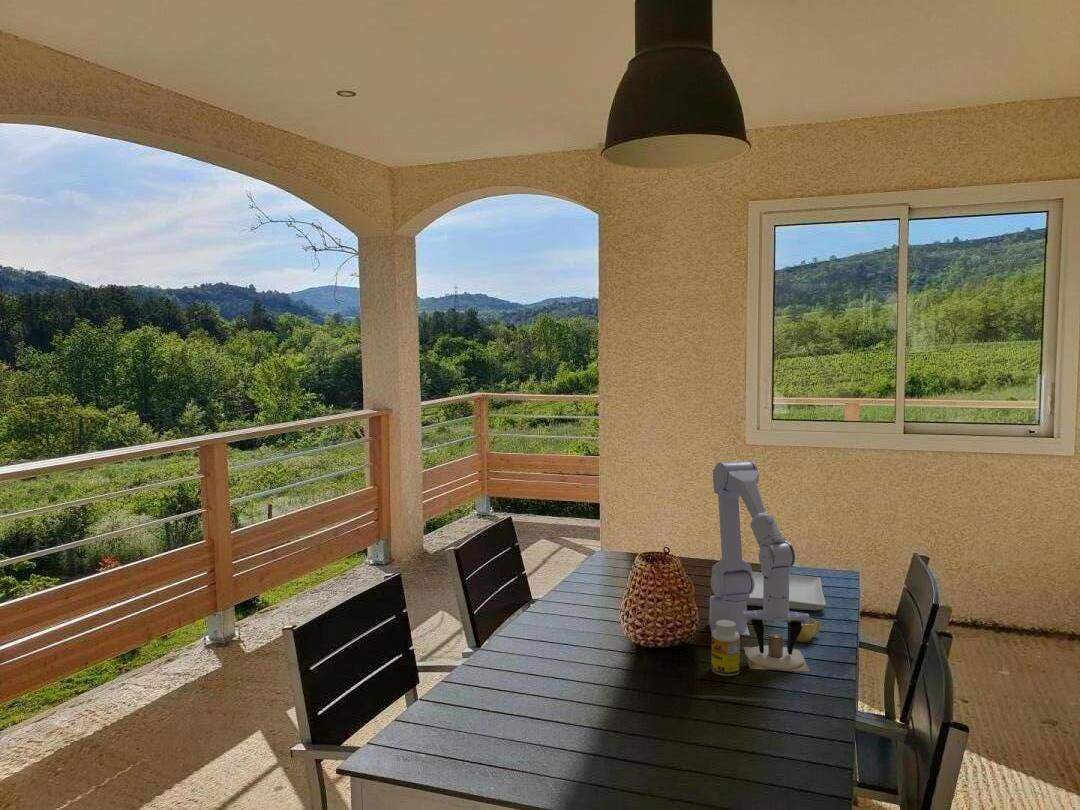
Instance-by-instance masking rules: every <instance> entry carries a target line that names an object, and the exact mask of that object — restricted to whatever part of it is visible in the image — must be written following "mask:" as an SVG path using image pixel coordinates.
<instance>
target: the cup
mask: <svg viewBox="0 0 1080 810" xmlns="http://www.w3.org/2000/svg"><path fill="white" fill-rule="evenodd" d="M801 626H802V630H801V632H800V633H799V635H798V637H797V639H796V641H799V642H810V641H811V640H812V638H813V637H814V635H815V634H817V633H819V632H820V630H821V622H819V621H817V620H815V619H814V618H812V617H809V624H804V623H801Z"/></svg>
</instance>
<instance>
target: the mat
mask: <svg viewBox="0 0 1080 810" xmlns="http://www.w3.org/2000/svg"><path fill="white" fill-rule="evenodd" d="M753 647H754V646H753ZM753 647H752V646H751V647H750V646H743V649H744V650H743V651H744V653H745V656H746V660H747V664H748V667H749V670H765V671H767V670H768V671H780V670H779V669H770V668H766V667H762V666H759V665H756V664H754V663H753V662H751V661H750V660H749V659H748V651H749V650H750V649H751V648H753ZM793 650H795V651H797V652H799V653H801V654H802V651H801V650H800V649H795V648H793ZM782 671H786V672H787V671H788V672H801V673H802V672H804V673H805V672H806V673H807V672H808V673H810V672H811V671H810V669H809V666H808V664H807V662H806V660H805V659H804V664H803V665H802V666H800V667H798V668H795V669H788V670H782Z"/></svg>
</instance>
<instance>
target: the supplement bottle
mask: <svg viewBox="0 0 1080 810" xmlns="http://www.w3.org/2000/svg"><path fill="white" fill-rule="evenodd" d="M715 628H716V630H714V631H713V632H712V633H711V671H712V673H715V674H716V675H719V676H720V675H721V676H725V677H726V676H735V675H738V674H739V673H740V669H741V668H740V665H741V659H740V657H741V655H740V654H741V653H740V652H741V648H740V647H741V635H739V633H738V632H736V624H735V622H733V621H729V620H719V621H717V622H716V627H715Z"/></svg>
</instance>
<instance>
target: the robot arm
mask: <svg viewBox="0 0 1080 810" xmlns="http://www.w3.org/2000/svg"><path fill="white" fill-rule="evenodd" d="M759 480H760V473H759V469H758V467H757V464H756V463H755V461H753V460H747V461H731V462H729V461H728V462H727V461H726V462H723V461H719V462H717V463H716V465H715V466H714V468H713V470H712V483H713V485H712V486H713V492H714V493H715V494H716V495H717V496H718V513H719V515H718V516H719V531H720V535H719V536H720V548H721V558H720V559H719V560H718V561H717V562H716V563H715V564H714V565H712V567H711V578H710V587H711V591H712V593H713V594H714V595H710V597H709V617H708V625H709V630H710V632H711V634H712V632H713V631H714V630H716V628H715V627H716V622H717V621H719V620H729V621H733V622H735V624H736V632H738V633H739V635H740V636H743V635H744V636H750V635H751V634H750V632H749V628H748V625H747V623H748V622H749V621H750V622H751V626H752V627H753V630H754V633H755V634H756V638H757V642H758V646H759V650H760V653H764V632H765V627H764V623H763V622H771V623H774V622H775V623H787V645H786V648H787V652H788V654H789V655H792V651H793V649H794V646H795V644H796V641H797V640H796V639H797V637H798V635H799V633H800V632H801V630H802V626H801V623H804V624H809V618H810V614H809V613H807V612H805V613H804V612H798V611H790V609H789V574H790V570H791V568H792V567H793V566H794V565H795V561H796V553H795V550H794V546H793V544H792V543H791V542H789V541H787V539H786V537H783V536H782V533H781V531H780V529H779V527H778V525H777V523H776V519H775V517H774V516H773V515H772V514H769V513H767V511H766V508H765V504H764V502H763V499H762V496H761V493H760V490H759V487H758V484H759ZM739 498H741V500H742V501H743V504H744V505H745V507H746V509H747V511H748V513H749V515H750V516H751V518H752V520H751V522H750V524H749V525H750V528H751V530H752V533H753V535H754V538H755V540H756V543H757V545H758V547H759V552H758V561H759V564H760V571H761V572H762V574H763V575H764V578H763V607H762V609H758V610H755V609H754V610H748V605H747V598H750V594H751V593H752V592H753V590H754V587H755V582H754V578H753V575H752V572H753V570H752V566H751V565H750V564H749V563H748V562H746V561H745V560H744V559H743V550H742V548H743V547H742V537H741V536H742V535H741V518H740V517H741V516H740V504H739V503H740V501H739Z"/></svg>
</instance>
